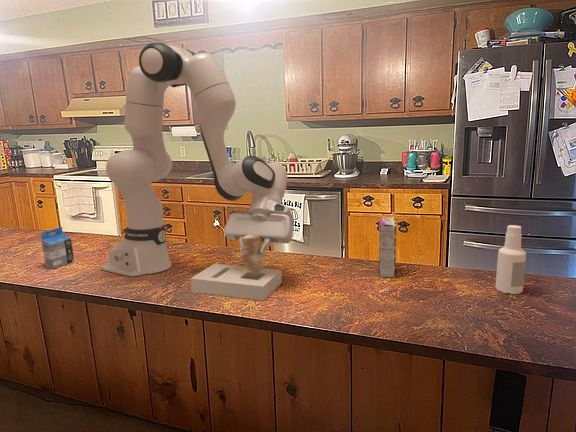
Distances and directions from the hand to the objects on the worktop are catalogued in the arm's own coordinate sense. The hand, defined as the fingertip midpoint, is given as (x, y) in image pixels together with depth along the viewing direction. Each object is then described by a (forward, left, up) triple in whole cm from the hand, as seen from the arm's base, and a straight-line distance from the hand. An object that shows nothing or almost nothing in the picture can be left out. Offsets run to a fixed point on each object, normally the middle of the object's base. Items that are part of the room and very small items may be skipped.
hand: (251, 253), depth 125 cm
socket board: (-5, +1, -11) cm, 12 cm away
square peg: (0, +1, -5) cm, 5 cm away
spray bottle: (+68, +21, -11) cm, 72 cm away
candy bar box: (+34, +27, -11) cm, 44 cm away
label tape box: (-73, +3, -11) cm, 74 cm away
